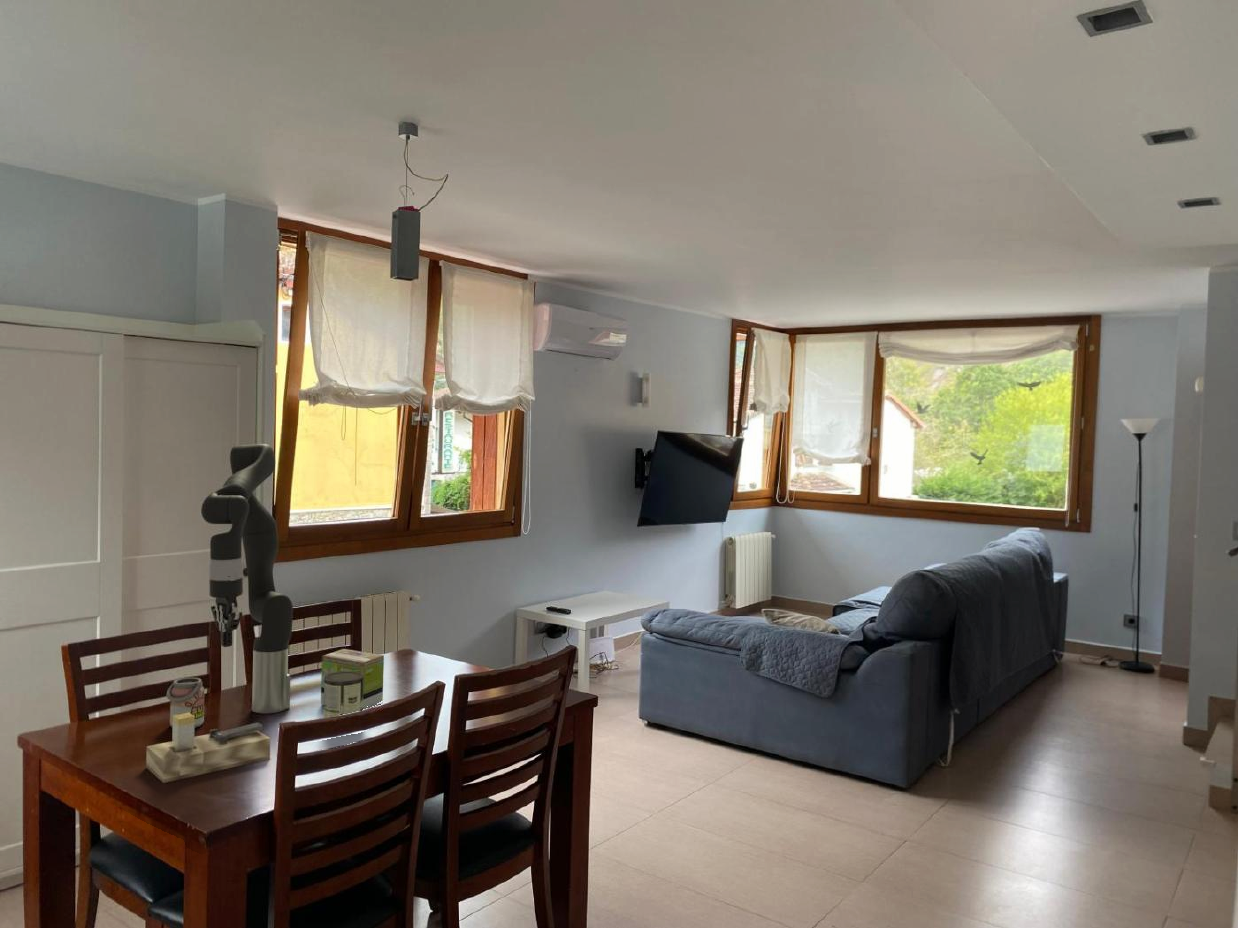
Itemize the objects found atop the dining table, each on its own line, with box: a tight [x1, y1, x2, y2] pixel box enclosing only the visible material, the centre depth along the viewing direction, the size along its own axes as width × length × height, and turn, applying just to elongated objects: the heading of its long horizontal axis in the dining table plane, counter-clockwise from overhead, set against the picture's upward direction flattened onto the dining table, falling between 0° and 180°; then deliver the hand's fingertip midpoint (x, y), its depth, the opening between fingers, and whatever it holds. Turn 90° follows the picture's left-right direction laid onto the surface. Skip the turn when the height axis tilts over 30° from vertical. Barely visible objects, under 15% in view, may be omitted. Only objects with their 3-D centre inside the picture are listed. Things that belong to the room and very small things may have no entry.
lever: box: [212, 722, 264, 741], centre depth 219 cm, size 11×4×1 cm, turn 134°
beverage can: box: [165, 677, 205, 729], centre depth 240 cm, size 9×8×12 cm
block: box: [145, 728, 271, 784], centre depth 214 cm, size 24×12×7 cm, turn 134°
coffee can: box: [323, 672, 364, 719], centre depth 242 cm, size 10×10×14 cm
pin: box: [171, 713, 195, 753], centre depth 210 cm, size 4×4×12 cm
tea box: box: [320, 648, 385, 709], centre depth 263 cm, size 15×10×15 cm, turn 68°
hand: (226, 645), depth 223 cm, fingers closed
